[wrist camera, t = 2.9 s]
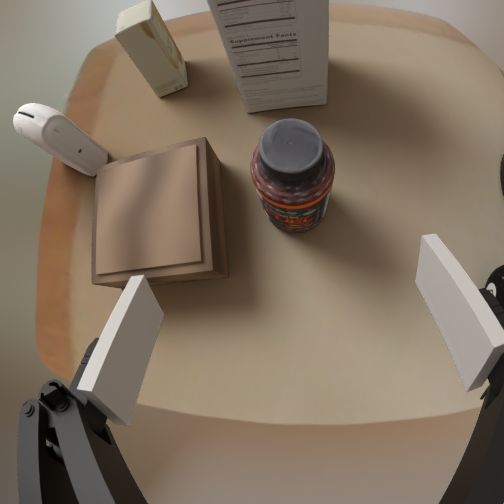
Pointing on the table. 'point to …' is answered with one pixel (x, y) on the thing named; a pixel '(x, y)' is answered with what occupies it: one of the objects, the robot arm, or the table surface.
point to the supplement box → (276, 50)
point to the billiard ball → (497, 284)
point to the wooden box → (160, 217)
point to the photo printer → (60, 137)
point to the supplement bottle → (293, 174)
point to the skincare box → (151, 48)
